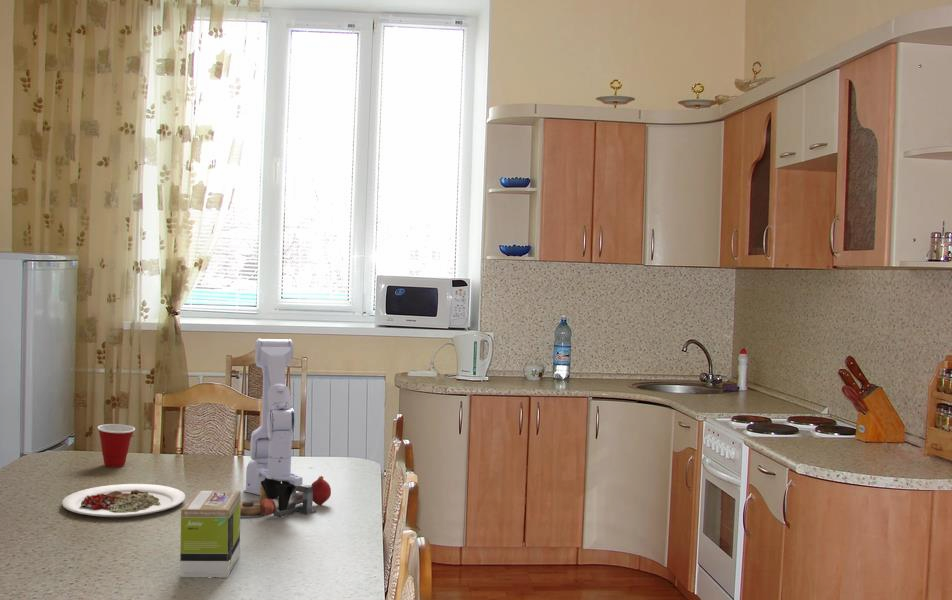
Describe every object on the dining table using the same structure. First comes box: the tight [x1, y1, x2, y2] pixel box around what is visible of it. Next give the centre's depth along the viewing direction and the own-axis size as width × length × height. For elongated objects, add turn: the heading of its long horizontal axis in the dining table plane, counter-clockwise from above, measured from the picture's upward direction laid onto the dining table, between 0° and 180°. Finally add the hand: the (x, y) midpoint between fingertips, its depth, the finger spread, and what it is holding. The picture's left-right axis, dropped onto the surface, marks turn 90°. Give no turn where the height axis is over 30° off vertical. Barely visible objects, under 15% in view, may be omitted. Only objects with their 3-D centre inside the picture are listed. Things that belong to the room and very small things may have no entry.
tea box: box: [179, 490, 241, 579], centre depth 195 cm, size 15×10×15 cm, turn 5°
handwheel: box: [240, 485, 267, 515], centre depth 236 cm, size 10×10×6 cm
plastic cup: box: [96, 423, 136, 468], centre depth 279 cm, size 11×11×12 cm
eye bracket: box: [273, 483, 317, 518], centre depth 237 cm, size 9×10×7 cm
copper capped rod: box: [260, 491, 303, 516], centre depth 235 cm, size 4×13×4 cm, turn 147°
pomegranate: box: [310, 475, 332, 506], centre depth 245 cm, size 6×6×8 cm
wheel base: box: [240, 513, 266, 519], centre depth 237 cm, size 12×12×1 cm
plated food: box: [61, 483, 186, 518], centre depth 238 cm, size 30×30×3 cm
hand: (277, 508), depth 233 cm, fingers closed on copper capped rod, 3 cm apart
